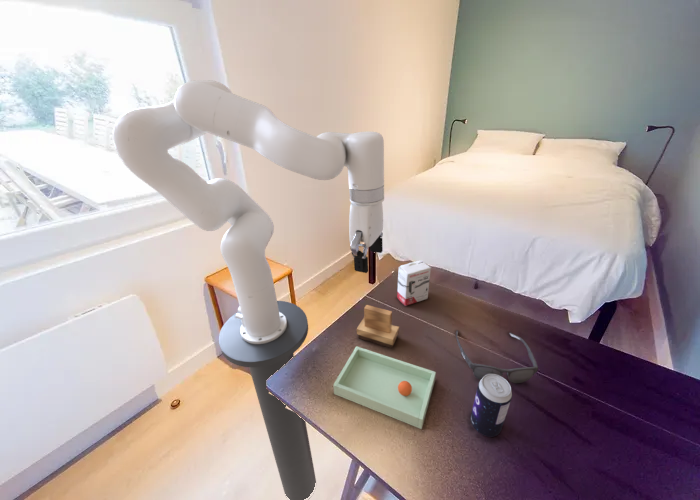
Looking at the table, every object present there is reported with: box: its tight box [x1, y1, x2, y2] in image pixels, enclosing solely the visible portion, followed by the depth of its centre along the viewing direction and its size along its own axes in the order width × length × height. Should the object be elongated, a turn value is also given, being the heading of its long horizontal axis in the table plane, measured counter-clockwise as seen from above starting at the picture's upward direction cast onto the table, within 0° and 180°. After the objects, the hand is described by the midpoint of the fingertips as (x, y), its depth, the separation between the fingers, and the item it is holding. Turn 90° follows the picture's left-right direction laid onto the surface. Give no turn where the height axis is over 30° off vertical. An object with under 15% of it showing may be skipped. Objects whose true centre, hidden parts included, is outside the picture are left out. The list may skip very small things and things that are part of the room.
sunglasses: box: [455, 330, 539, 384], centre depth 76 cm, size 16×17×5 cm
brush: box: [356, 304, 400, 349], centre depth 82 cm, size 10×5×10 cm, turn 65°
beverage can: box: [470, 374, 513, 438], centre depth 59 cm, size 6×6×12 cm
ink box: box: [396, 259, 432, 307], centre depth 95 cm, size 9×5×12 cm, turn 114°
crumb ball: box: [398, 381, 412, 396], centre depth 68 cm, size 3×3×3 cm
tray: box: [333, 345, 437, 430], centre depth 70 cm, size 20×12×3 cm, turn 65°
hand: (369, 261), depth 76 cm, fingers open, 9 cm apart
